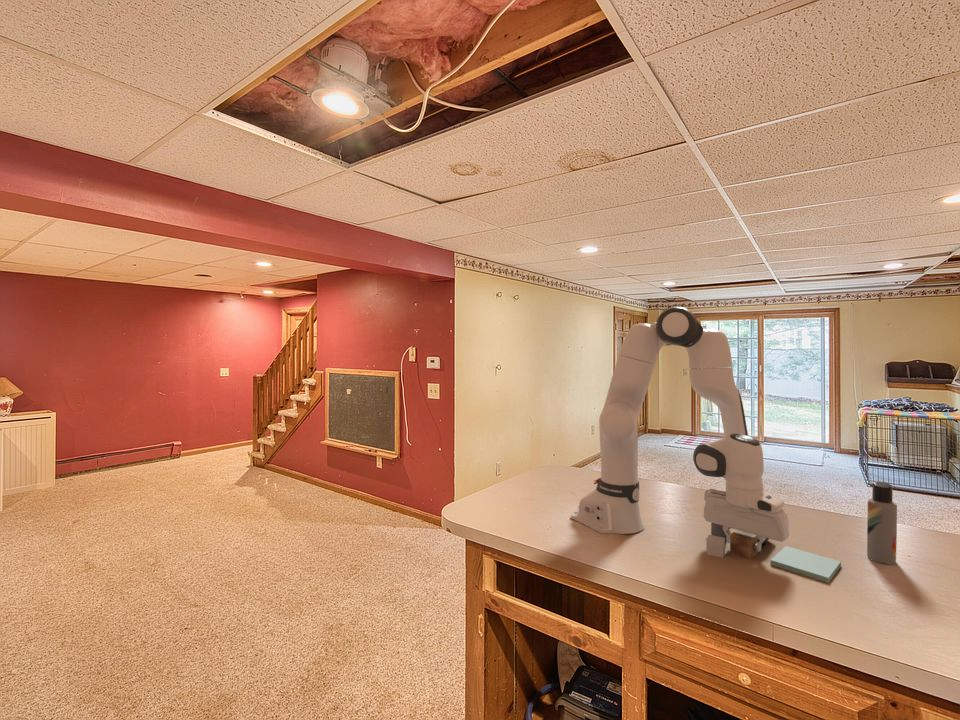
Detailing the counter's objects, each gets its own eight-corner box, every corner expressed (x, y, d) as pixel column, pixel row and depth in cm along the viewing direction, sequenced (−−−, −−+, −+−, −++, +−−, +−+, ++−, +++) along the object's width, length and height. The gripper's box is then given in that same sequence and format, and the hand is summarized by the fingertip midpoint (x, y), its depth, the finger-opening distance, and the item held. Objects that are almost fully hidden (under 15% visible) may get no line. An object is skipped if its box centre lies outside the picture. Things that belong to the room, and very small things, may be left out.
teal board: (770, 564, 116) (770, 560, 116) (785, 550, 124) (785, 546, 124) (828, 582, 107) (828, 577, 107) (840, 566, 115) (841, 561, 115)
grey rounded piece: (708, 539, 132) (708, 522, 132) (714, 535, 135) (714, 518, 134) (723, 543, 129) (723, 526, 129) (729, 539, 131) (729, 522, 131)
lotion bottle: (896, 558, 118) (897, 482, 118) (896, 567, 114) (897, 488, 114) (867, 552, 122) (868, 478, 122) (866, 560, 118) (867, 483, 117)
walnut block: (730, 552, 123) (730, 534, 123) (737, 547, 127) (737, 529, 126) (750, 559, 120) (750, 540, 119) (757, 553, 123) (757, 535, 123)
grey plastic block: (706, 554, 123) (706, 539, 123) (708, 548, 126) (708, 534, 126) (723, 558, 120) (723, 543, 120) (725, 552, 124) (725, 537, 124)
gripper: (699, 489, 128) (699, 537, 129) (783, 508, 113) (783, 563, 113) (709, 484, 132) (709, 531, 133) (791, 502, 117) (791, 555, 117)
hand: (743, 546), depth 123 cm, fingers closed on walnut block, 5 cm apart
